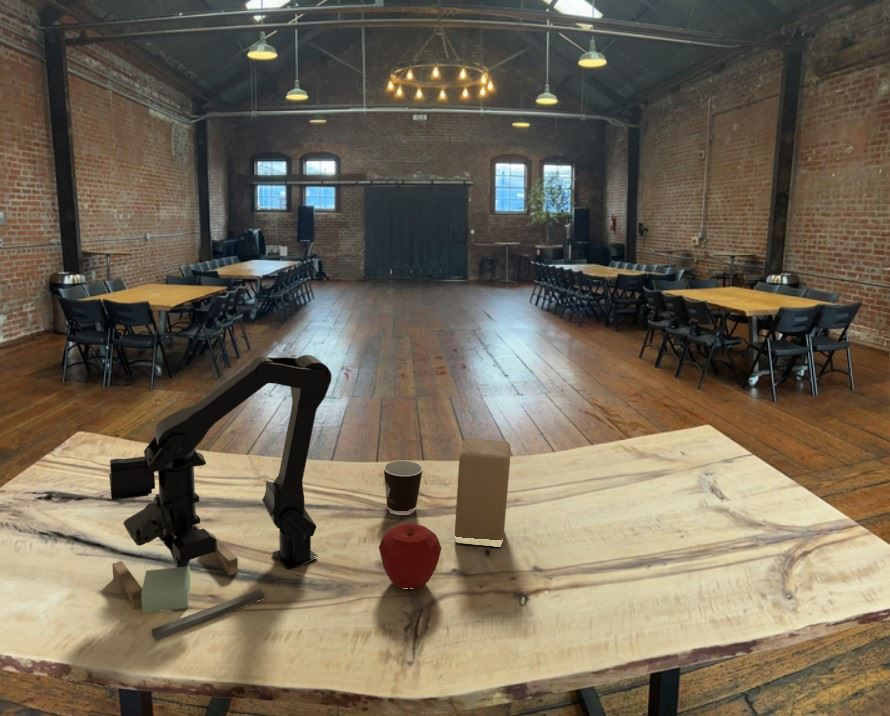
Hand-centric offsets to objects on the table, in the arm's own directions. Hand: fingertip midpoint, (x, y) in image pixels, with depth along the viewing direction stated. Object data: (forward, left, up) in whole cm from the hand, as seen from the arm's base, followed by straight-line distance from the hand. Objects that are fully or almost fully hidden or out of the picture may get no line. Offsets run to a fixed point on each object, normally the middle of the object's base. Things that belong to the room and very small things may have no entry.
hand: (181, 570), depth 120 cm
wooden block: (-20, -55, -2) cm, 58 cm away
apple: (-25, -32, -2) cm, 41 cm away
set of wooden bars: (-3, 0, -2) cm, 4 cm away
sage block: (-4, +4, -2) cm, 6 cm away
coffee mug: (0, -50, -2) cm, 50 cm away
